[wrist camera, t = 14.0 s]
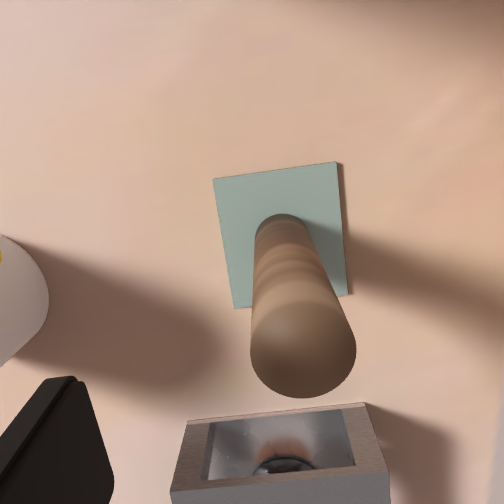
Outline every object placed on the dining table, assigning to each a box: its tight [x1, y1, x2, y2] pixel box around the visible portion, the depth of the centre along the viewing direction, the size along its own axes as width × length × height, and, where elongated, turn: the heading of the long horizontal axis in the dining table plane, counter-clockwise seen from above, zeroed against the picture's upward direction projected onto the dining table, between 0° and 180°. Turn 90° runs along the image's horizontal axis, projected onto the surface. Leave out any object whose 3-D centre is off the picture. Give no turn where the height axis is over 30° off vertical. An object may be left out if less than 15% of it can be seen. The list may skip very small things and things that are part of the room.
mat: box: [213, 162, 348, 309], centre depth 26 cm, size 8×7×1 cm
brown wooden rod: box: [250, 214, 356, 398], centre depth 19 cm, size 3×3×13 cm
